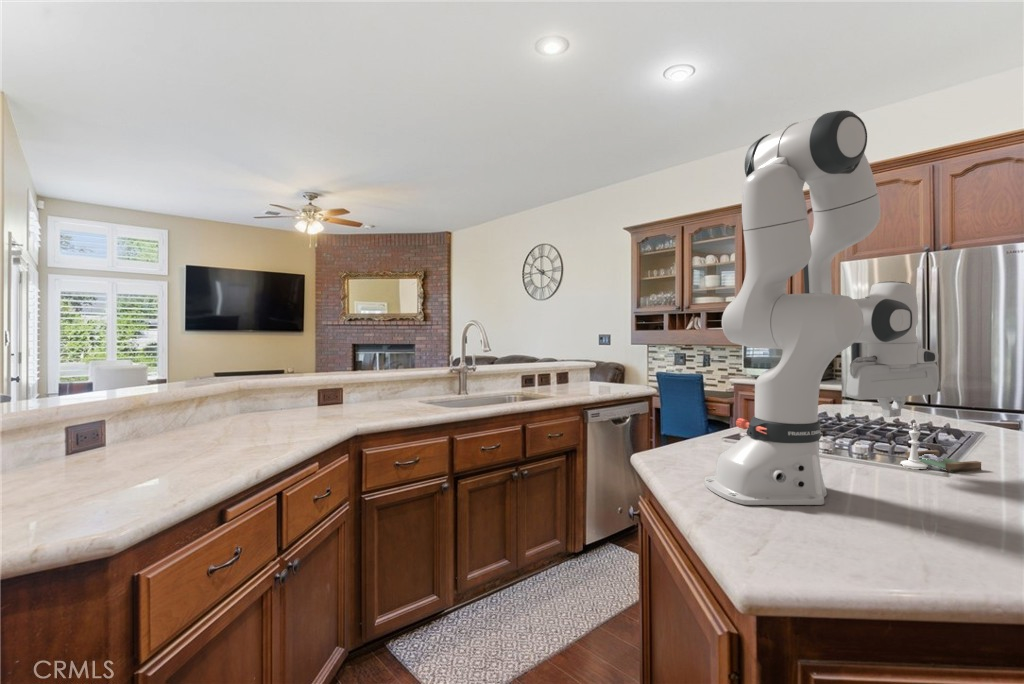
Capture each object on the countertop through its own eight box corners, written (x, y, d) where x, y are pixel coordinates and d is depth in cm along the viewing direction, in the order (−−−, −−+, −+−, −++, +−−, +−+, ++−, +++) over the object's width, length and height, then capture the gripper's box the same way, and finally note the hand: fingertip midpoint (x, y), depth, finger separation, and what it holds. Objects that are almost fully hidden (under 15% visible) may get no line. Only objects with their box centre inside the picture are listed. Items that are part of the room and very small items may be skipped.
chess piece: (933, 470, 107) (934, 425, 106) (908, 469, 108) (908, 425, 107) (919, 464, 111) (920, 421, 111) (895, 463, 112) (896, 420, 112)
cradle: (950, 472, 105) (950, 464, 105) (906, 459, 115) (906, 452, 115) (981, 470, 106) (981, 462, 106) (935, 457, 116) (935, 450, 116)
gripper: (863, 358, 103) (862, 423, 104) (945, 353, 106) (944, 416, 107) (838, 356, 109) (838, 416, 110) (917, 351, 112) (916, 410, 113)
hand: (891, 416), depth 108 cm, fingers closed
